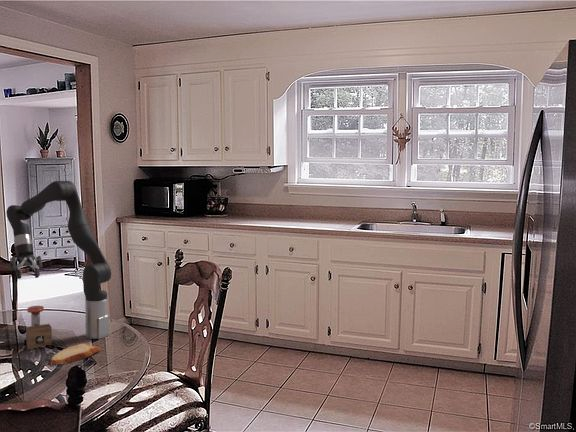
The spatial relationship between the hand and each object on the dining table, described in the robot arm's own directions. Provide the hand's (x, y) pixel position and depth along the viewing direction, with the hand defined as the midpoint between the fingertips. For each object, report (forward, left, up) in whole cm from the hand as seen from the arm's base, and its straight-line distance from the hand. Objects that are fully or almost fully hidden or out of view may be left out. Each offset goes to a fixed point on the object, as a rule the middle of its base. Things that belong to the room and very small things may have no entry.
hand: (28, 278), depth 244 cm
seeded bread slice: (-49, +17, -23) cm, 57 cm away
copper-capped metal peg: (-24, +15, -22) cm, 36 cm away
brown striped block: (-27, +17, -23) cm, 39 cm away
